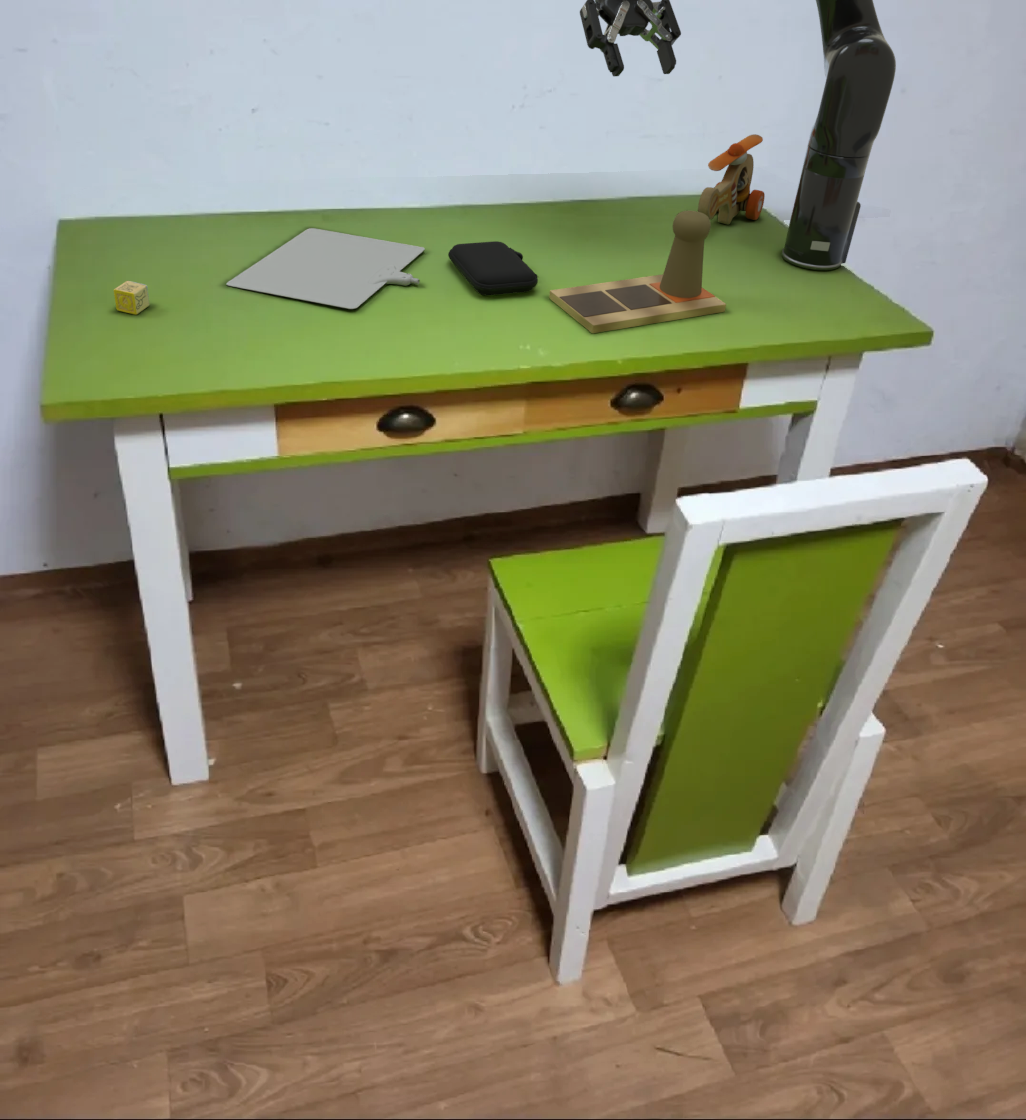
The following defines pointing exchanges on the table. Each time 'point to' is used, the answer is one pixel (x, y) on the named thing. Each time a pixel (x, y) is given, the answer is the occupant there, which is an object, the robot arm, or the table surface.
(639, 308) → the board
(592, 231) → the table surface
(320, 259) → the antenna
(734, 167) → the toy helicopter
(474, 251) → the carrying case
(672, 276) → the olive brown pawn
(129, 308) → the alphabet block
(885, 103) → the robot arm
